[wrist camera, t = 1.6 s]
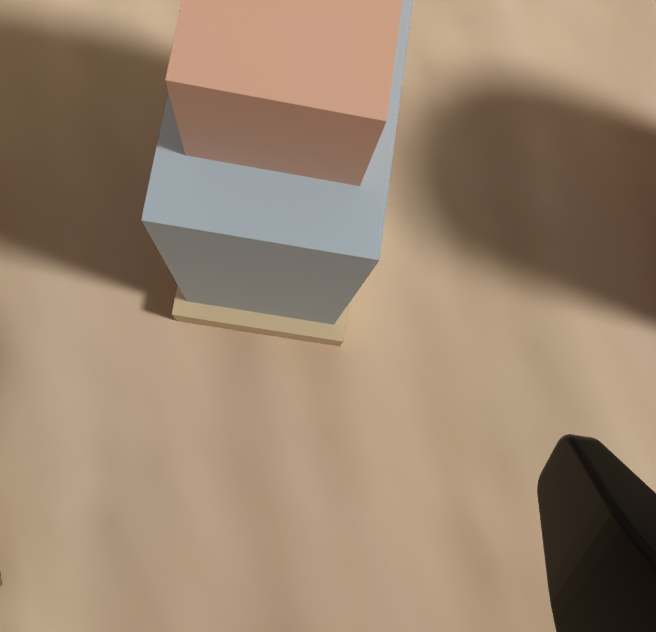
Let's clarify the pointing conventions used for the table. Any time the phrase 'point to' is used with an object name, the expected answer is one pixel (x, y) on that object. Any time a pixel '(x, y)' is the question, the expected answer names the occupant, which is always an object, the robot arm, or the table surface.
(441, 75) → the table surface
